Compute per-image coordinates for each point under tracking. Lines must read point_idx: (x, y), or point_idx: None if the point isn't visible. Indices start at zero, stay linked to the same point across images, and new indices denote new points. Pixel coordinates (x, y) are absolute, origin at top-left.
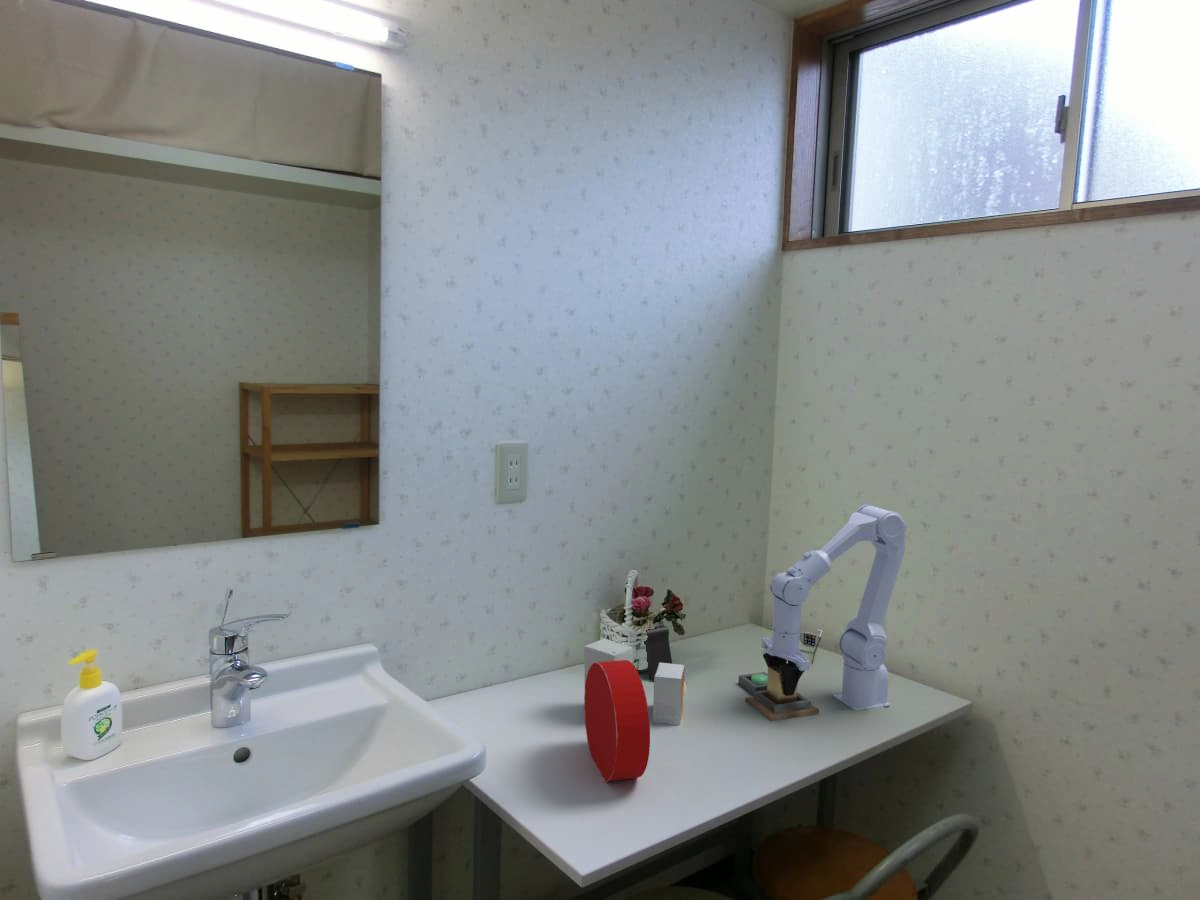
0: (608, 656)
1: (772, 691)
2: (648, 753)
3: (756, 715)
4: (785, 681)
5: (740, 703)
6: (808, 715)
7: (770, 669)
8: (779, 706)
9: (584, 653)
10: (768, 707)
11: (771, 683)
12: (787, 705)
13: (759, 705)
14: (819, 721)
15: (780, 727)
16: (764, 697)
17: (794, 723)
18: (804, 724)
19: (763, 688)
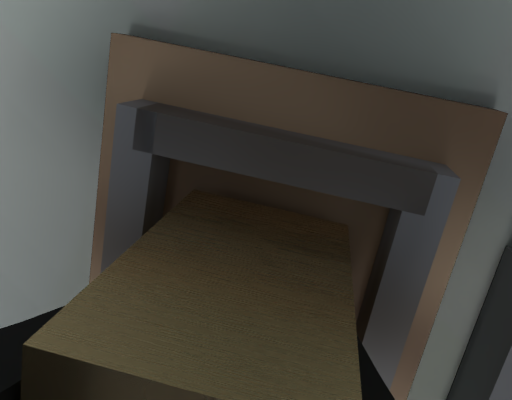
0: None
1: (252, 237)
2: None
3: (262, 9)
4: (19, 329)
5: (501, 50)
6: None
7: (287, 397)
8: (114, 147)
9: None
10: (225, 118)
11: (266, 275)
12: (106, 221)
13: (319, 105)
14: (19, 312)
15: (38, 30)
16: (312, 169)
17: (51, 164)
18: (18, 208)
19: (501, 345)
